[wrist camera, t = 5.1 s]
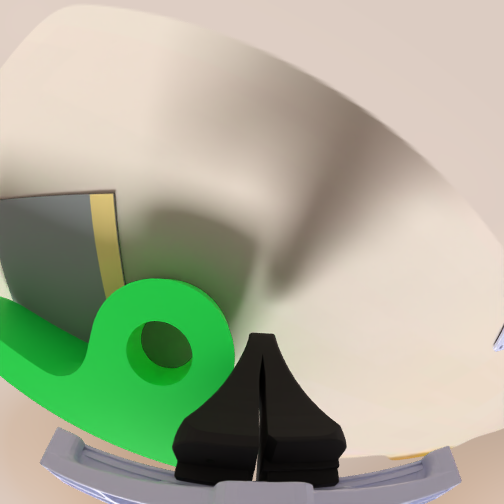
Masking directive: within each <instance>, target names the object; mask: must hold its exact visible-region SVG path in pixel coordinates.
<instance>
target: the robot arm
mask: <svg viewBox="0 0 504 504" xmlns="http://www.w3.org/2000/svg"><path fill="white" fill-rule="evenodd" d="M493 349H494V351H500V350H503V349H504V328H503V330H502V332H501V334H500V336H499V338H498V340H497V341H496V343H495V345H494V347H493ZM346 447H347V446H346V440H345V437H344V434H343V431H342V429H341V427H340V425H339V424H337V423H336V422H335V421H333V420H332V419H331V418H330V417H328V416H327V415H326V414H325V413H324V412H323V411H322V410H321V409H319V408H318V406H317V405H316V404H315V403H314V402H313V401H312V400H311V399H310V398H309V397H308V396H307V394H306V393H305V392H304V391H303V390H302V388H301V387H300V385H299V384H298V383H297V381H296V380H295V378H294V377H293V375H292V373H291V372H290V370H289V368H288V366H287V364H286V362H285V360H284V358H283V356H282V354H281V352H280V350H279V347H278V344H277V341H276V338H275V335H274V334H265V333H251V334H249V339H248V342H247V345H246V347H245V349H244V352H243V354H242V356H241V357H240V359H239V361H238V363H237V364H236V366H235V368H234V369H233V371H232V372H231V374H230V375H229V377H228V378H227V379H226V381H225V382H224V383H223V384H222V386H221V387H220V388H219V389H218V390H217V391H216V392H215V393H214V394H213V395H212V396H211V397H210V398H209V399H208V400H207V401H206V402H205V403H204V404H203V405H202V406H200V407H199V408H198V409H197V410H195V411H194V412H193V413H191V414H190V415H189V416H187V417H186V418H184V420H183V421H182V423H181V425H180V426H179V428H178V430H177V432H176V435H175V437H174V441H173V445H172V450H173V452H174V455H175V457H176V459H177V465H176V469H175V471H171V470H166V469H162V468H157V467H153V466H149V465H145V464H141V463H138V462H134V461H131V460H128V459H124V458H121V457H118V456H115V455H112V454H109V453H107V452H104V451H101V450H98V449H96V448H93V447H91V446H88V445H86V444H85V443H84V442H83V440H82V439H81V438H80V437H78V436H77V435H75V434H73V433H71V432H68V431H66V430H64V429H62V428H60V427H58V428H57V429H56V431H55V433H54V435H53V437H52V439H51V441H50V443H49V445H48V447H47V449H46V451H45V453H44V455H43V457H42V459H41V461H40V464H41V465H42V466H44V467H45V468H46V469H47V470H49V471H50V472H51V473H52V474H53V475H55V476H56V477H57V478H59V479H60V480H61V481H62V482H64V483H65V484H67V485H70V486H71V487H73V488H75V489H77V490H79V491H81V492H84V493H86V494H88V495H90V496H93V497H94V498H97V499H99V500H101V501H103V502H106V503H108V504H425V503H428V502H430V501H432V500H435V499H436V498H438V497H440V496H441V495H443V494H444V493H446V492H448V491H449V490H451V489H452V488H454V487H455V486H457V485H458V484H460V483H461V478H460V475H459V472H458V469H457V466H456V463H455V461H454V458H453V455H452V453H451V450H450V447H449V446H446V447H443V448H440V449H437V450H434V451H432V452H430V453H428V454H427V455H425V456H424V457H423V458H422V460H419V461H416V462H413V463H409V464H405V465H402V466H398V467H394V468H390V469H385V470H381V471H376V472H372V473H366V474H360V475H355V476H348V477H340V478H339V476H338V470H337V468H338V467H339V461H338V459H339V458H340V456H341V455H342V454H343V452H344V451H345V449H346ZM257 455H258V459H257ZM256 460H257V474H256V481H252V479H253V474H254V470H255V465H256Z"/></svg>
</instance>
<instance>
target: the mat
mask: <svg viewBox="0 0 504 504" xmlns="http://www.w3.org/2000/svg"><path fill="white" fill-rule="evenodd" d="M0 260H1V264H2V268H3V271H4V275H5V278H6V281H7V284H8V287H9V290H10V293H11V296H12V299H13V301H14V302H16V303H18V304H20V305H22V306H24V307H25V308H27V309H28V310H30V311H32V312H33V313H35V314H36V315H38V316H40V317H41V318H43V319H45V320H46V321H48V322H50V323H51V324H53V325H55V326H57V327H58V328H60V329H62V330H64V331H66V332H68V333H69V334H71V335H73V336H75V337H77V338H79V339H81V340H83V341H85V342H87V343H89V339H90V335H91V330H92V326H93V323H94V319H95V317H96V315H97V312H98V311H99V309H100V307H101V306H102V304H103V303H104V302H105V300H106V299H107V298H108V297H109V296H110V295H111V294H112V293H114V292H115V291H116V290H118V289H119V288H121V287H122V286H125V280H124V274H123V268H122V261H121V254H120V247H119V239H118V230H117V220H116V209H115V196H114V193H101V194H73V195H53V196H38V197H25V198H13V199H3V200H0Z"/></svg>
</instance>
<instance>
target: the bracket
mask: <svg viewBox="0 0 504 504" xmlns="http://www.w3.org/2000/svg"><path fill="white" fill-rule="evenodd" d="M150 321H161V322H165V323H168V324H171V325H173V326H174V327H176V328H177V329H179V330H180V331H181V332H182V333H183V334H184V335H185V337H186V338H187V340H188V342H189V344H190V346H191V350H192V358H191V359H190V360H189V361H188V362H187V363H186V364H184V365H183V366H180V367H177V368H165V367H161V366H159V365H157V364H155V363H154V362H152V361H151V360H150V359H149V358H148V357H147V355H146V354H145V352H144V350H143V348H142V344H141V334H142V330H143V328H144V326H145V324H146V323H147V322H150ZM234 362H235V353H234V344H233V339H232V336H231V333H230V330H229V327H228V323H227V321H226V319H225V316H224V314H223V313H222V311H221V309H220V308H219V306H218V305H217V304H216V303H215V301H214V300H213V299H212V298H211V297H210V296H209V295H207V294H206V293H205V292H203V291H202V290H201V289H199V288H197V287H196V286H193V285H191V284H189V283H186V282H183V281H179V280H174V279H154V278H152V279H143V280H138V281H134V282H131V283H129V284H127V285H125V286H122V287H121V288H119V289H118V290H116V291H115V292H114V293H112V294H111V295H110V296H109V297H108V298H107V299H106V300H105V302H104V303H103V304H102V306H101V307H100V309H99V311H98V312H97V315H96V317H95V319H94V323H93V326H92V330H91V335H90V339H89V343H87V342H85V341H83V340H81V339H79V338H77V337H75V336H73V335H71V334H69V333H68V332H66V331H64V330H62V329H60V328H58V327H57V326H55V325H53V324H51V323H50V322H48V321H46V320H45V319H43V318H41V317H40V316H38V315H36V314H35V313H33V312H32V311H30V310H28V309H27V308H25V307H24V306H22V305H20V304H18V303H16V302H14V301H11V300H9V299H6V298H3V297H0V376H1V377H2V378H4V379H5V380H6V381H7V382H9V383H10V384H11V385H13V386H14V387H15V388H17V389H18V390H19V391H21V392H22V393H24V394H25V395H26V396H28V397H29V398H30V399H32V400H33V401H35V402H36V403H38V404H39V405H41V406H42V407H44V408H46V409H47V410H49V411H50V412H52V413H54V414H55V415H57V416H59V417H60V418H62V419H64V420H65V421H67V422H69V423H71V424H73V425H74V426H76V427H78V428H80V429H82V430H84V431H86V432H88V433H90V434H92V435H94V436H96V437H98V438H100V439H102V440H105V441H107V442H109V443H111V444H114V445H116V446H118V447H121V448H123V449H126V450H128V451H131V452H133V453H136V454H139V455H141V456H144V457H147V458H150V459H153V460H156V461H159V462H162V463H165V464H169V465H172V466H175V467H176V465H177V459H176V457H175V455H174V452H173V450H172V445H173V441H174V437H175V435H176V432H177V430H178V428H179V426H180V425H181V423H182V421H183V420H184V418H186V417H187V416H189V415H190V414H191V413H193V412H194V411H195V410H197V409H198V408H199V407H200V406H202V405H203V404H204V403H205V402H206V401H207V400H208V399H209V398H210V397H211V396H212V395H213V394H214V393H215V392H216V391H217V390H218V389H219V388H220V387H221V386H222V384H223V383H224V382H225V381H226V379H227V378H228V377H229V375H230V374H231V372H232V371H233V369H234Z"/></svg>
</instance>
